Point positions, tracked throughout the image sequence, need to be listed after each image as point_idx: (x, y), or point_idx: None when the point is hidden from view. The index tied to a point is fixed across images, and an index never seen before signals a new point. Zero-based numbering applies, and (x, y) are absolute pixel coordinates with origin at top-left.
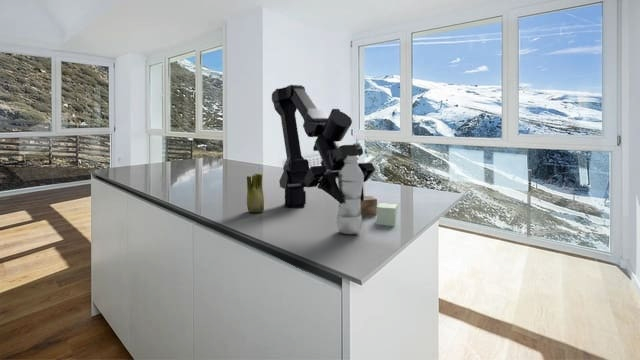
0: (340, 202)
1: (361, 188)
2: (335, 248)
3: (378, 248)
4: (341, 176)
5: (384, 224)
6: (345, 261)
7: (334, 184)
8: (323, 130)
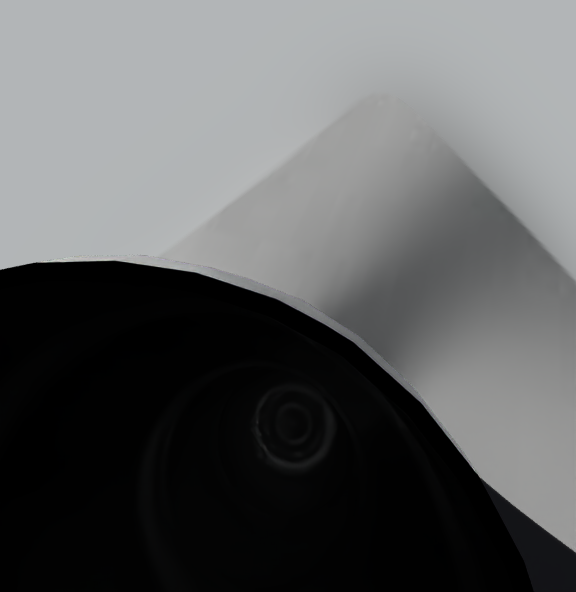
0: None
1: (131, 381)
2: (401, 264)
3: (256, 233)
4: (497, 512)
5: None
6: (397, 163)
7: (530, 563)
8: None
